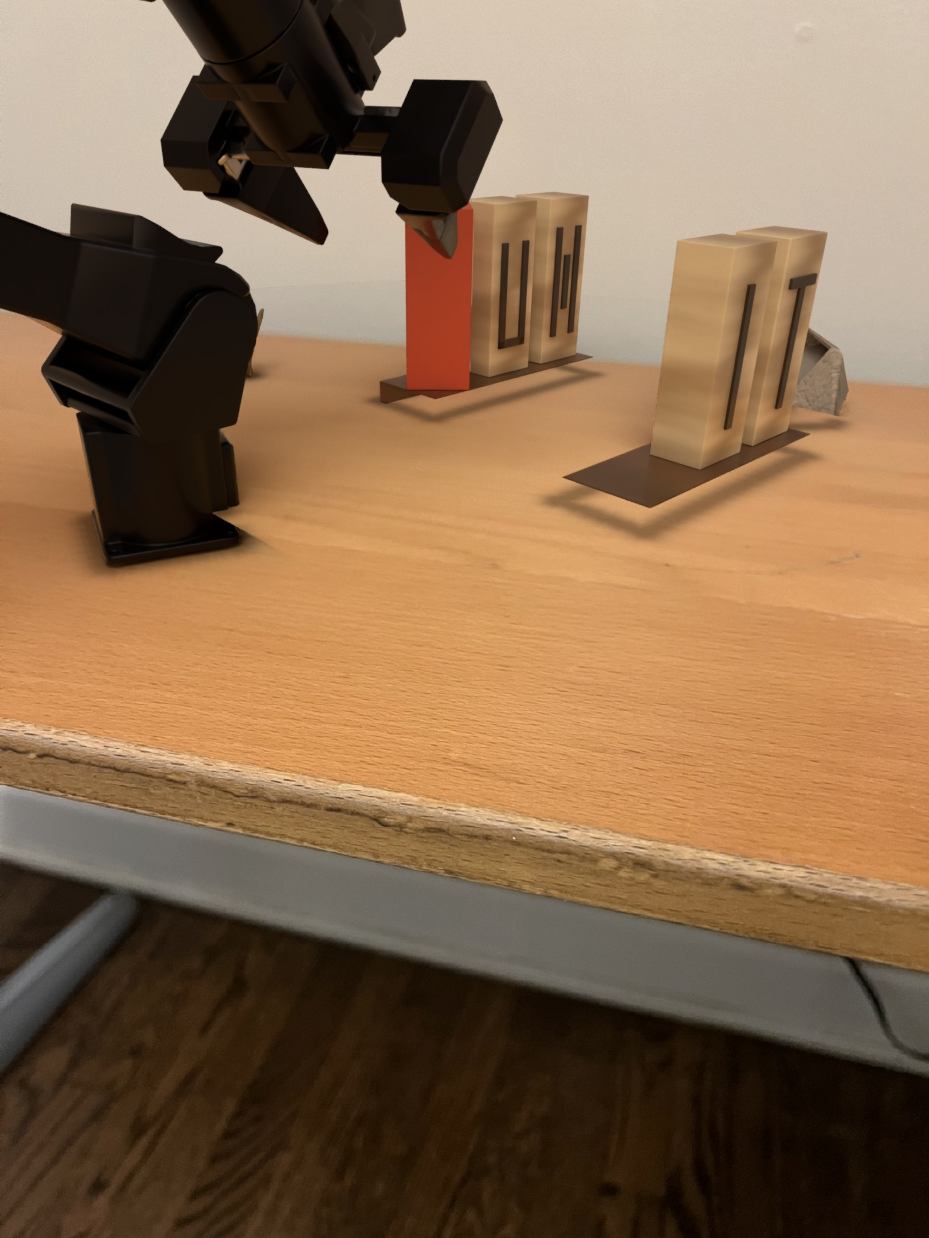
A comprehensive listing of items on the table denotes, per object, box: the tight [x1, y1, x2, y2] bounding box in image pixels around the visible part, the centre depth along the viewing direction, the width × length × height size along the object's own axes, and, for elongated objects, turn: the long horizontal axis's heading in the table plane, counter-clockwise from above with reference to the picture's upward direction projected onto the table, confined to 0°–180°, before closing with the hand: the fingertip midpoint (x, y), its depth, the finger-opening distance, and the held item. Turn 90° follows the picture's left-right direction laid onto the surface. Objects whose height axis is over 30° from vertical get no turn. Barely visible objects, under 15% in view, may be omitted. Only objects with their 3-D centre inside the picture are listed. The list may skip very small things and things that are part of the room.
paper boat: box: [792, 326, 849, 417], centre depth 67 cm, size 12×6×9 cm
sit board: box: [562, 225, 828, 509], centre depth 52 cm, size 18×6×14 cm, turn 135°
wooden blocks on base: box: [379, 191, 594, 404], centre depth 69 cm, size 18×6×14 cm, turn 135°
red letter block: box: [404, 203, 474, 391], centre depth 64 cm, size 4×5×12 cm
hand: (386, 245), depth 55 cm, fingers open, 9 cm apart
